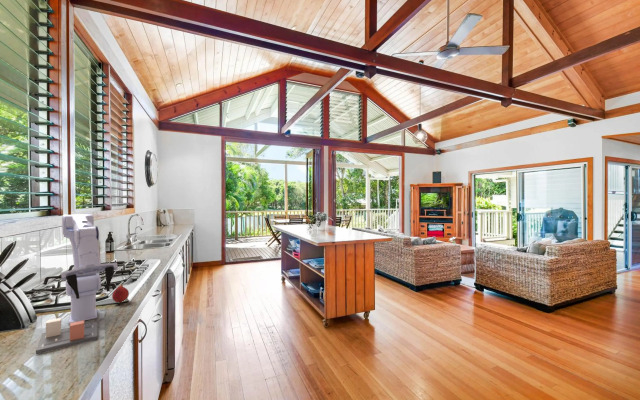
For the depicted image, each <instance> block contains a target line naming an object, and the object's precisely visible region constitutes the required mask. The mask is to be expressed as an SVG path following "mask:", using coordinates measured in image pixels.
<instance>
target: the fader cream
mask: <svg viewBox="0 0 640 400" xmlns="http://www.w3.org/2000/svg"><path fill="white" fill-rule="evenodd" d="M61 329H62V317H58V318H52V319H48V320H46V322H45V333H46V338H47V337H52V336H56V335H61Z"/></svg>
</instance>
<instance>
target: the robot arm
mask: <svg viewBox="0 0 640 400" xmlns="http://www.w3.org/2000/svg"><path fill="white" fill-rule="evenodd" d="M94 218H95V217H94V215H93V214H92V213H89V214H63V215H62V217H61V228H62V235H63V237H64V238H66V239H68V240H69V241H70V244H71V250H72V258H73V259H72V260H73V268H74V269H70V270H67V271H63V272H60V275H61V276H60V277H61V281H65V295H66V296H67V297H70V314H69V319H68V324H70V323H73V322H78V321H83V320H84V321H89V320H93V319H97V318H98V309H97V308H96V305H97V304H96V302H97V301H96V300H97V299H96V297H97V296H96V295H97V292H99V290H100V289H101V287H102V281H101V275H100V273H104V275H105V281H106V283H105V284H106V288H105V289H106V292H110V285H111V282H112V279H113V277H114V275H115V271H117V270H118V269H119V268H118V262H110V263H109V262H106V263H102V261H101V255H100V247H99V240H100V230H99V227H98V226H95V225H94V224H95V219H94Z"/></svg>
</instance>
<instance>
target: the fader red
mask: <svg viewBox="0 0 640 400" xmlns="http://www.w3.org/2000/svg"><path fill="white" fill-rule="evenodd" d="M84 325H85V320H83V321H78V322H73V323H69V328H70V341H71V340H75V339H80V338H84Z"/></svg>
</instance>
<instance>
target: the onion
mask: <svg viewBox="0 0 640 400" xmlns="http://www.w3.org/2000/svg"><path fill="white" fill-rule="evenodd" d="M129 295H130V292H129V290H128V289H127V288H126V287H124V284H120V285H119V286H118V287H117V288H116V289H114V291H113V293H112V296H111V298H112V300H113V302H115V303H117V302H122V301H124V300H125V299H126V300H127V299H128V298H129ZM126 300H125V301H126ZM125 301H124V302H125Z"/></svg>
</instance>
